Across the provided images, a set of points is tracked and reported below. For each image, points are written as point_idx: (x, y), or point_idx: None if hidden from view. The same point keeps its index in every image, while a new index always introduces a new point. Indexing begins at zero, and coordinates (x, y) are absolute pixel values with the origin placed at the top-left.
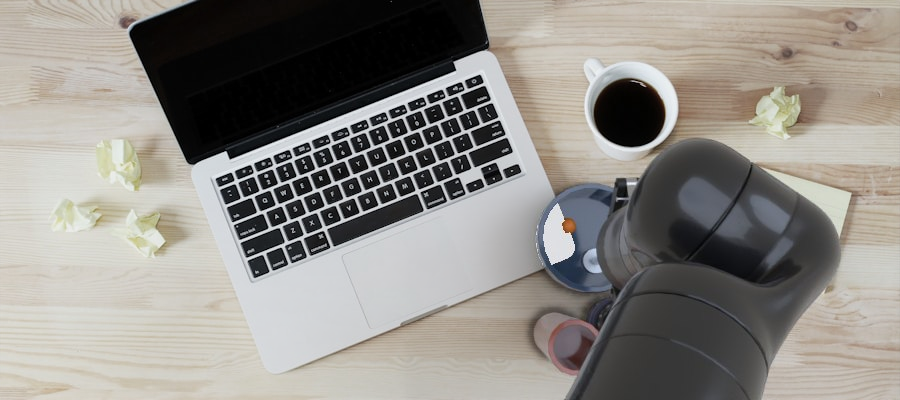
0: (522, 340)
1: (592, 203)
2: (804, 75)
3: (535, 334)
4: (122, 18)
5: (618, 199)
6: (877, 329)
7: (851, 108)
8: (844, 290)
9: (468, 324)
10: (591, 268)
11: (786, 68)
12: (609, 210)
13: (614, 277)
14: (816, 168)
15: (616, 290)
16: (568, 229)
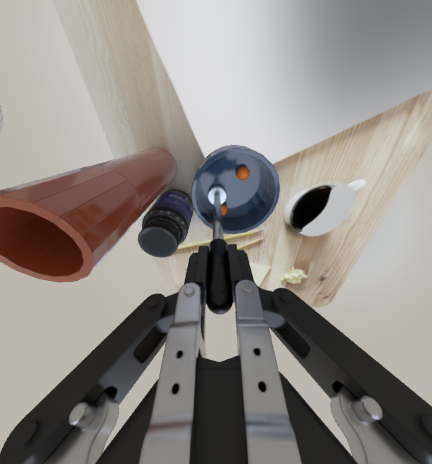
0: (148, 137)
1: (258, 190)
2: (309, 284)
3: (149, 150)
4: None
5: (375, 420)
6: None
7: None
8: None
9: (147, 74)
10: (211, 193)
11: (315, 279)
12: (298, 299)
13: None
14: (264, 288)
15: (148, 327)
16: (240, 175)
